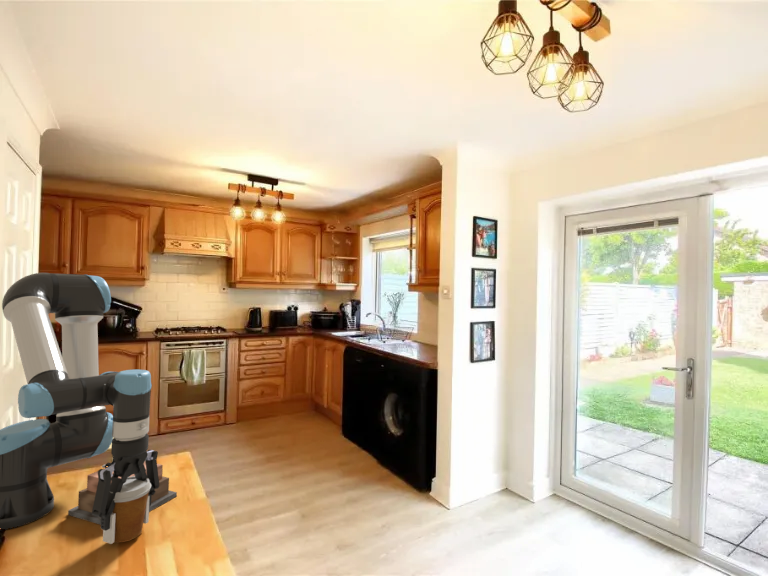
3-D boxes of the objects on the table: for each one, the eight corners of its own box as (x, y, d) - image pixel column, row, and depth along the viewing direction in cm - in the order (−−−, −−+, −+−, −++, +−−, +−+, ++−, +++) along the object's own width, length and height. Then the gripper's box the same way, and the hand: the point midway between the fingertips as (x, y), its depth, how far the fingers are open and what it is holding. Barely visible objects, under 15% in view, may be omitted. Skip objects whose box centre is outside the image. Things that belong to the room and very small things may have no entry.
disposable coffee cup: (141, 544, 92) (143, 492, 93) (94, 549, 90) (96, 495, 90) (154, 521, 102) (157, 473, 102) (112, 525, 99) (114, 476, 100)
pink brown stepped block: (68, 514, 106) (69, 477, 106) (131, 485, 123) (132, 453, 123) (116, 529, 100) (118, 490, 100) (176, 496, 116) (177, 462, 117)
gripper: (97, 454, 85) (92, 562, 85) (178, 425, 105) (174, 512, 104) (73, 448, 88) (68, 553, 87) (156, 421, 107) (153, 506, 107)
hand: (126, 531), depth 96 cm, fingers closed on disposable coffee cup, 8 cm apart
